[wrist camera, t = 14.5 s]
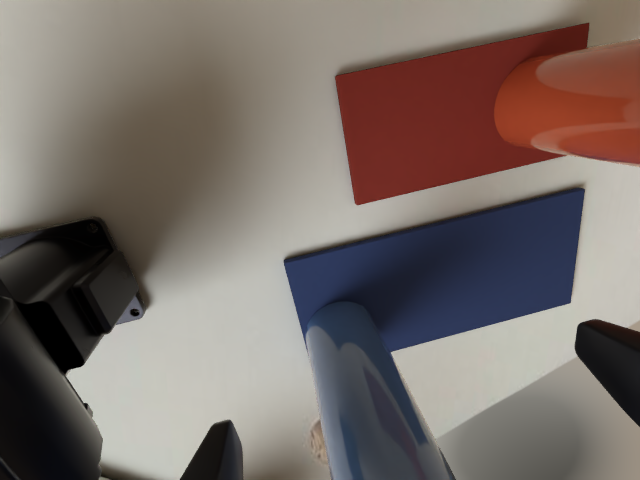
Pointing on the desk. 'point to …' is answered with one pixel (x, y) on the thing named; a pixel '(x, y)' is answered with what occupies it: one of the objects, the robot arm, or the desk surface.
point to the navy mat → (450, 271)
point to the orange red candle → (575, 103)
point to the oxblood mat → (437, 116)
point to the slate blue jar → (367, 402)
